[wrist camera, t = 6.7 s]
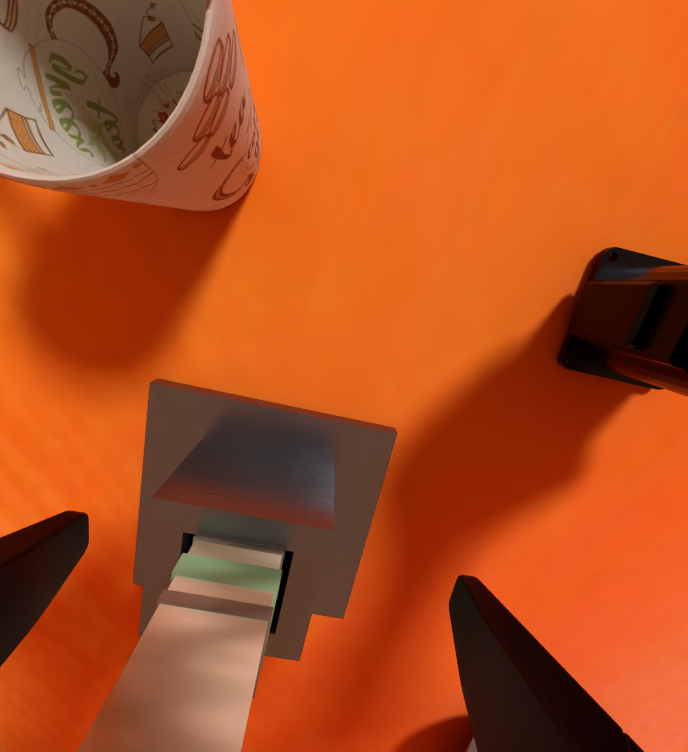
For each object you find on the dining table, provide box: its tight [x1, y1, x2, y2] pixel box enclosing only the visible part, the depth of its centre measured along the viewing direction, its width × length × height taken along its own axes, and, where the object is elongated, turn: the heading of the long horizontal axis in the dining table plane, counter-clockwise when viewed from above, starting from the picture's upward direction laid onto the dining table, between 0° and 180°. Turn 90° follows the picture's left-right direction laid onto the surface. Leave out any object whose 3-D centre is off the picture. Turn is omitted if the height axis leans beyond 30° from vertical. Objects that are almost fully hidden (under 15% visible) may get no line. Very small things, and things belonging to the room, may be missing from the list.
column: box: [78, 534, 285, 752], centre depth 13 cm, size 4×4×9 cm
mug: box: [0, 0, 261, 211], centre depth 11 cm, size 8×13×10 cm, turn 56°
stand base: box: [133, 379, 397, 661], centre depth 19 cm, size 14×14×7 cm
